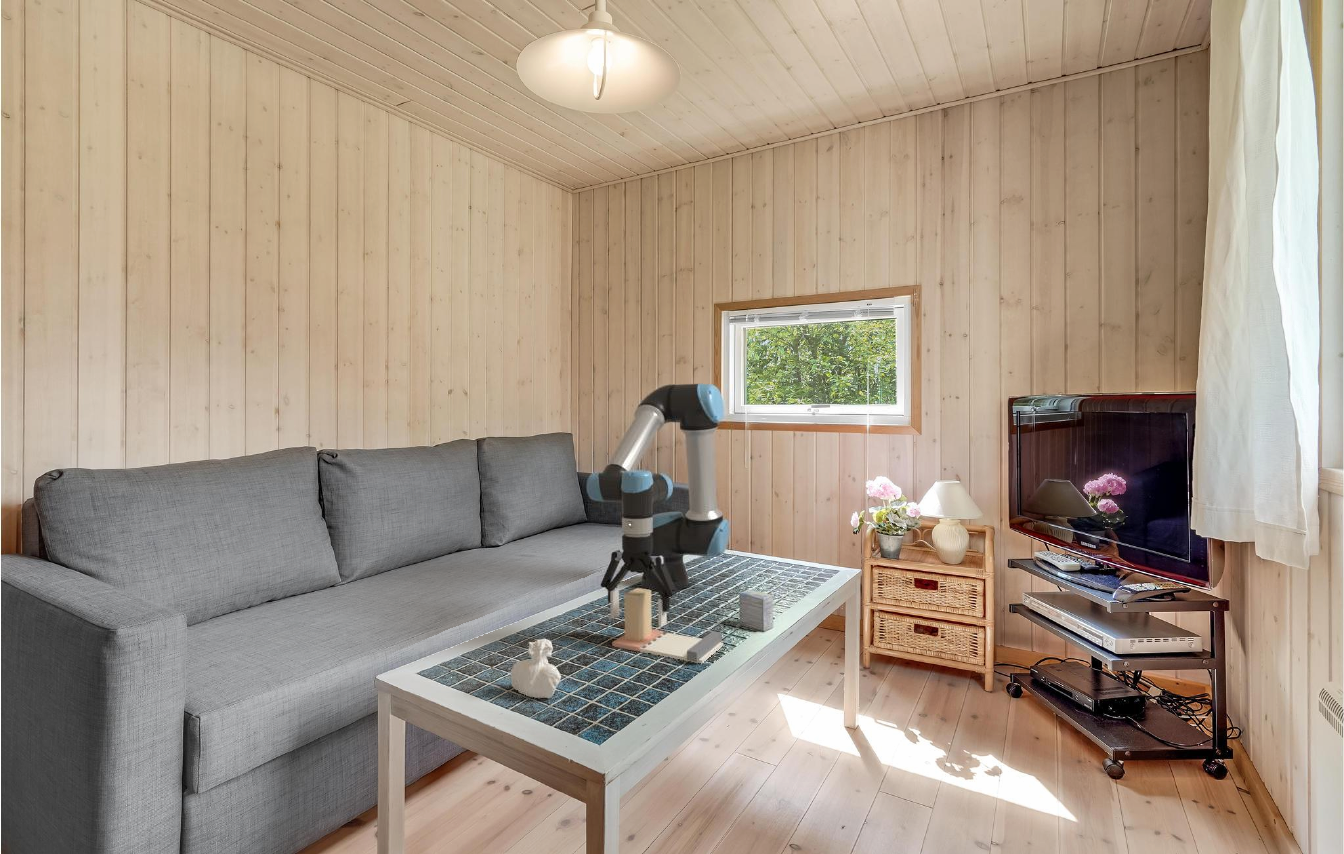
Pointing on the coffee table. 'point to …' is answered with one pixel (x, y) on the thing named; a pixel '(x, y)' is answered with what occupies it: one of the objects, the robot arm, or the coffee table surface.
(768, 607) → the grey rectangular block
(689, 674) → the coffee table surface
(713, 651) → the cream flat slab
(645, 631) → the stub
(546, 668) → the white tied sack
